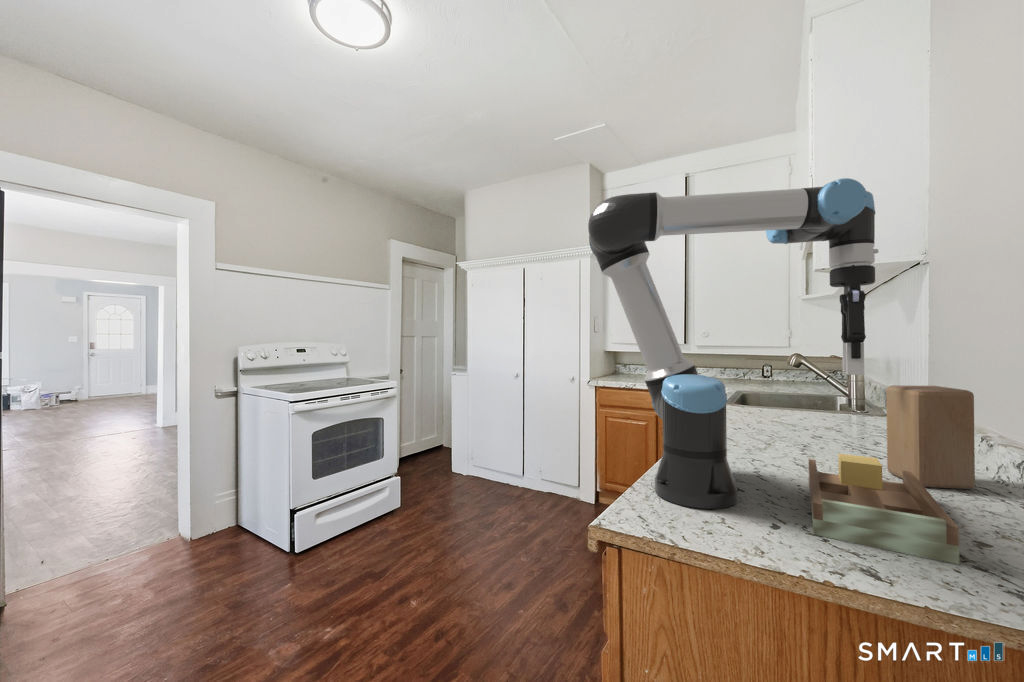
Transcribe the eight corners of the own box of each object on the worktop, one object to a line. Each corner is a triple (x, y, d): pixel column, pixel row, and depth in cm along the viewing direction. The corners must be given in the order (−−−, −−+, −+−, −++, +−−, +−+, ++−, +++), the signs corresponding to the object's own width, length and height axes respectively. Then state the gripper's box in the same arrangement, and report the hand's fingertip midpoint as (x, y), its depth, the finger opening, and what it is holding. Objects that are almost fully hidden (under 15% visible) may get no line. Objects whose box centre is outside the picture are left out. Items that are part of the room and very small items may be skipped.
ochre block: (841, 484, 80) (840, 460, 80) (838, 475, 85) (838, 453, 85) (882, 490, 76) (882, 465, 76) (877, 480, 81) (876, 458, 81)
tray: (813, 534, 65) (813, 499, 65) (808, 482, 88) (808, 456, 88) (959, 564, 56) (958, 524, 56) (911, 497, 79) (911, 469, 79)
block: (977, 491, 82) (976, 390, 82) (918, 488, 84) (917, 390, 84) (937, 474, 92) (936, 385, 92) (885, 472, 94) (884, 384, 94)
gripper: (883, 257, 77) (885, 378, 77) (867, 271, 94) (868, 370, 94) (833, 261, 81) (834, 376, 81) (826, 274, 99) (827, 369, 99)
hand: (852, 373), depth 88 cm, fingers open, 8 cm apart
